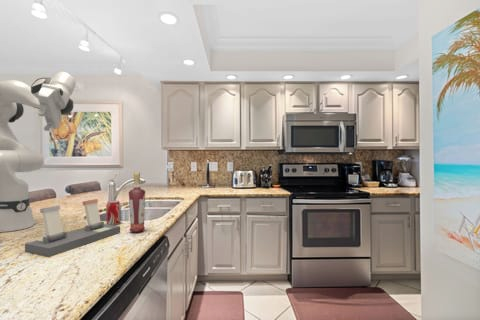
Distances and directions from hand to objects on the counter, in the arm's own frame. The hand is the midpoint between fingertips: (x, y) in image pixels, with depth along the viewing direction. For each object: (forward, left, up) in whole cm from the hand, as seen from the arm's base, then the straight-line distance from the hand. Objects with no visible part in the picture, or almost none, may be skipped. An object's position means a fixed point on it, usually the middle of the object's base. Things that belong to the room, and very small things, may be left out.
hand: (43, 122), depth 105 cm
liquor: (+25, +26, -50) cm, 61 cm away
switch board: (+12, +6, -50) cm, 52 cm away
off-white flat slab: (+12, +14, -46) cm, 50 cm away
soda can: (+3, +32, -50) cm, 59 cm away
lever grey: (+12, -3, -46) cm, 48 cm away
